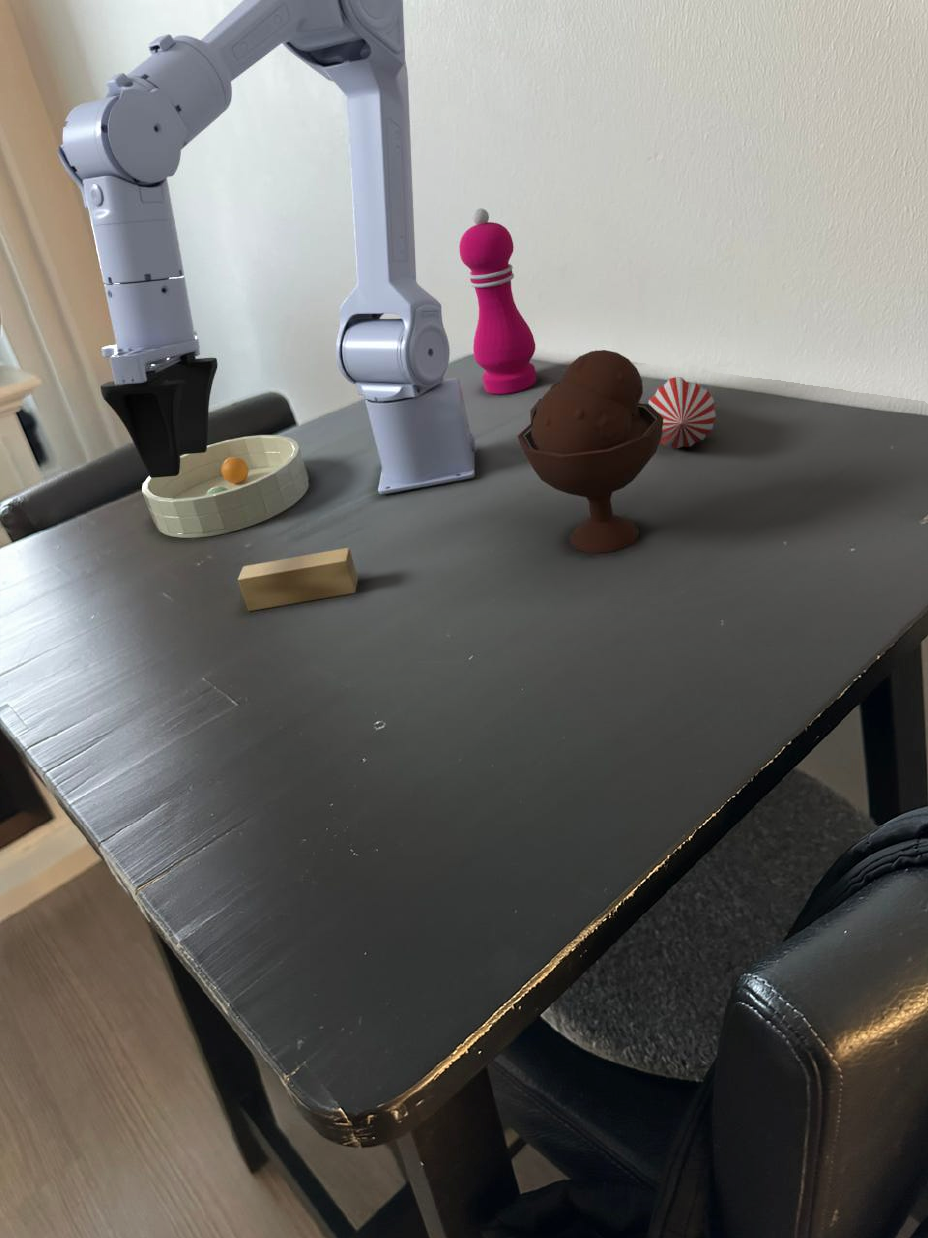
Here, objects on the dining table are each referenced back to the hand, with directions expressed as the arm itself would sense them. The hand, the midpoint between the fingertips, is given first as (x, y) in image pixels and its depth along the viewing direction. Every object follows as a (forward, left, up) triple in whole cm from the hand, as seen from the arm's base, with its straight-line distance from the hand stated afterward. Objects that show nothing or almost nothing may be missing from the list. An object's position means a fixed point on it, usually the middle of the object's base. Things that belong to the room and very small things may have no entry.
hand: (179, 463), depth 80 cm
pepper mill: (-26, -44, -13) cm, 52 cm away
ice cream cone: (-42, -19, -13) cm, 48 cm away
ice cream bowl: (-32, 0, -13) cm, 34 cm away
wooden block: (-7, +1, -13) cm, 14 cm away
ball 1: (+4, -19, -11) cm, 22 cm away
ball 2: (+4, -27, -11) cm, 29 cm away
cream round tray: (+4, -23, -13) cm, 27 cm away
